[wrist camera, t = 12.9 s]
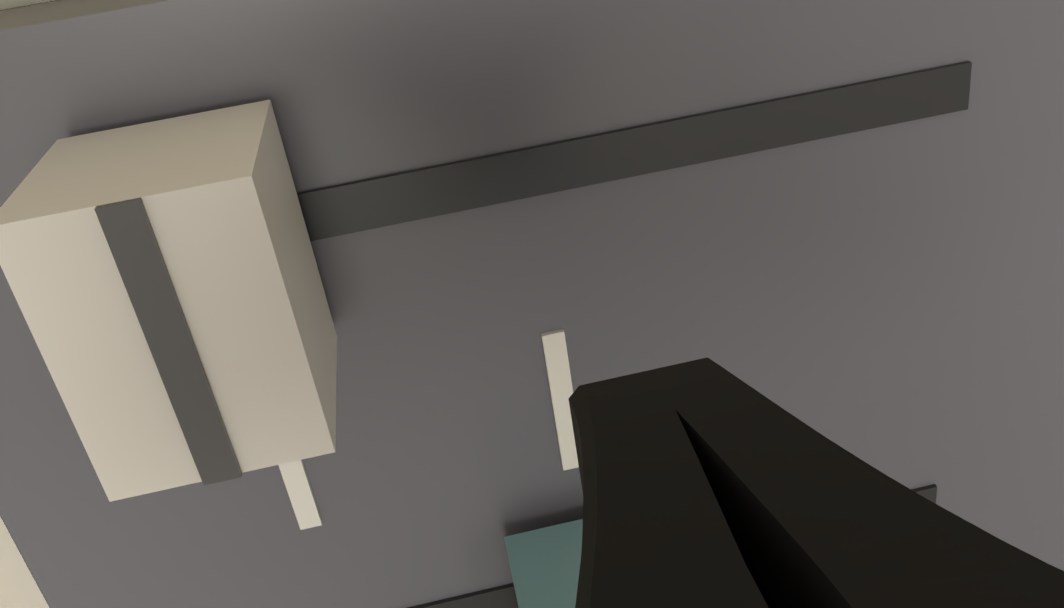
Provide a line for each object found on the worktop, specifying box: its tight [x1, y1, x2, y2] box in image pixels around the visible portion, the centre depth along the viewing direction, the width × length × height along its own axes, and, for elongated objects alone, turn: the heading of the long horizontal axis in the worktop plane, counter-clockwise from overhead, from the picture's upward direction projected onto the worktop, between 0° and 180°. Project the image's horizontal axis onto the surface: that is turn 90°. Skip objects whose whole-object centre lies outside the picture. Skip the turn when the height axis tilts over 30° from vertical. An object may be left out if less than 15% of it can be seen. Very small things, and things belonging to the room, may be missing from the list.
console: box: [0, 0, 1064, 608], centre depth 19 cm, size 16×24×2 cm, turn 98°
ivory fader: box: [0, 100, 337, 502], centre depth 13 cm, size 4×3×3 cm
